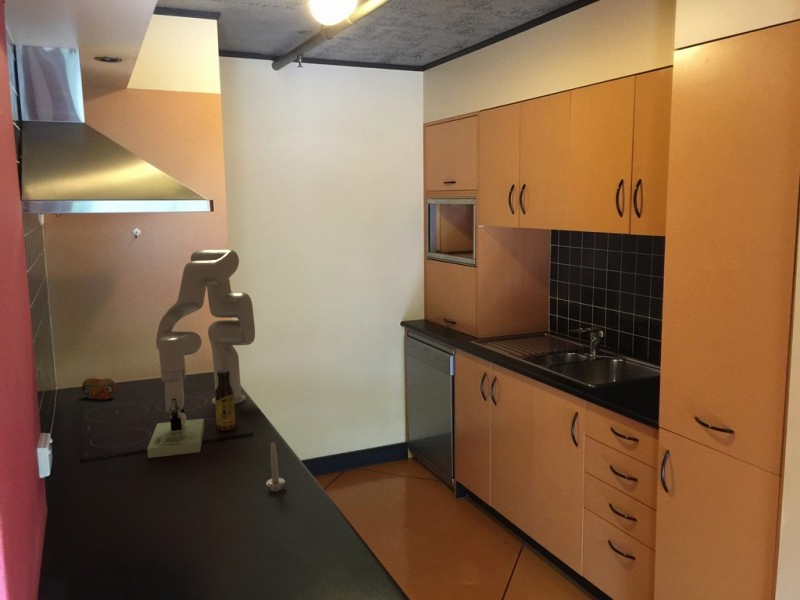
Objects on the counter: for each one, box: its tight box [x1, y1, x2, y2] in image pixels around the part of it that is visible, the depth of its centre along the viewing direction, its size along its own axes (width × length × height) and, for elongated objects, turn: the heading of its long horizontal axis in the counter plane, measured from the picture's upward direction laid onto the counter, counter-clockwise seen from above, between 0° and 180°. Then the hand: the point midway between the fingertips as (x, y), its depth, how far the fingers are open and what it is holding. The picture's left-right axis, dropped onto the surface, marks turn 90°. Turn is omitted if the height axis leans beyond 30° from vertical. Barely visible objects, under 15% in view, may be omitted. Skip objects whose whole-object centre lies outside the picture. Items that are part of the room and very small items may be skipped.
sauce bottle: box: [214, 370, 236, 432], centre depth 220 cm, size 6×6×20 cm
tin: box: [81, 377, 117, 400], centre depth 263 cm, size 15×3×8 cm, turn 73°
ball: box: [177, 412, 187, 426], centre depth 215 cm, size 5×5×5 cm
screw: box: [265, 442, 286, 493], centre depth 170 cm, size 13×5×5 cm
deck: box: [146, 418, 206, 459], centre depth 210 cm, size 24×15×3 cm, turn 13°
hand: (178, 425), depth 213 cm, fingers open, 9 cm apart
